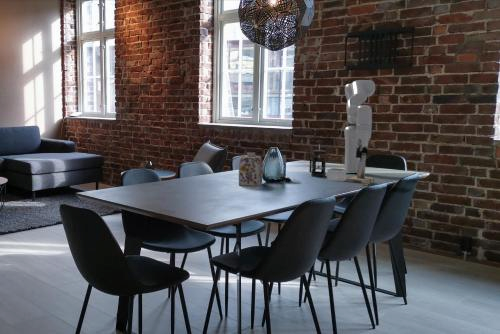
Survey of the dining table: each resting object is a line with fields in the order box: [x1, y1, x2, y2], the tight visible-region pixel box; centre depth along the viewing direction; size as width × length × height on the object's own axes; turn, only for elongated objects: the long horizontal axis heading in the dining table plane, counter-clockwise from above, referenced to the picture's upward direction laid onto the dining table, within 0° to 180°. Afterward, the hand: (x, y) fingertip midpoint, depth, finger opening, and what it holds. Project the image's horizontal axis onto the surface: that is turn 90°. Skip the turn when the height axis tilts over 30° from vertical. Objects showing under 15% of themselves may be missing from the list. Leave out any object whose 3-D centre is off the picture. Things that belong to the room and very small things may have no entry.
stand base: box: [323, 167, 347, 182], centre depth 305 cm, size 12×12×7 cm
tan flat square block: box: [346, 175, 375, 185], centre depth 298 cm, size 12×12×3 cm
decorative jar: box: [238, 152, 264, 187], centre depth 286 cm, size 12×12×18 cm
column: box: [356, 153, 367, 179], centre depth 297 cm, size 5×5×15 cm
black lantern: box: [309, 140, 327, 178], centre depth 317 cm, size 12×9×23 cm
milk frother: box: [280, 154, 292, 183], centre depth 303 cm, size 14×16×15 cm
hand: (361, 156), depth 297 cm, fingers open, 9 cm apart
